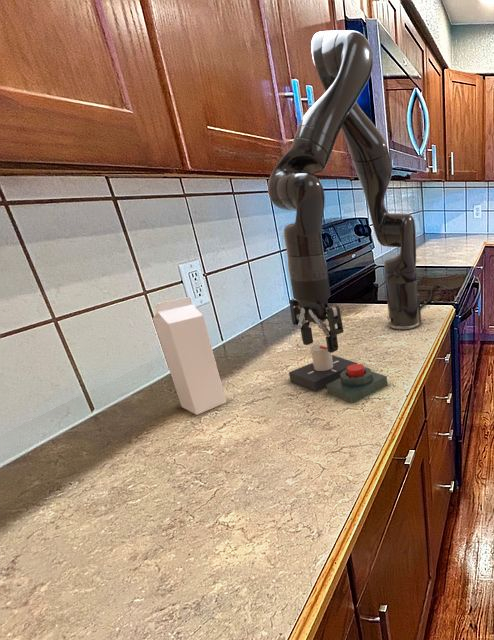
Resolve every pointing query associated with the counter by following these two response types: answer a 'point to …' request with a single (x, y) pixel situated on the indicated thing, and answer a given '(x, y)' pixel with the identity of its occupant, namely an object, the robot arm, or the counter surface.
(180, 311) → the milk
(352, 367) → the button
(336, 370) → the control panel
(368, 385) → the switch block
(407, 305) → the robot arm
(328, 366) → the power knob
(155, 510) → the counter surface
